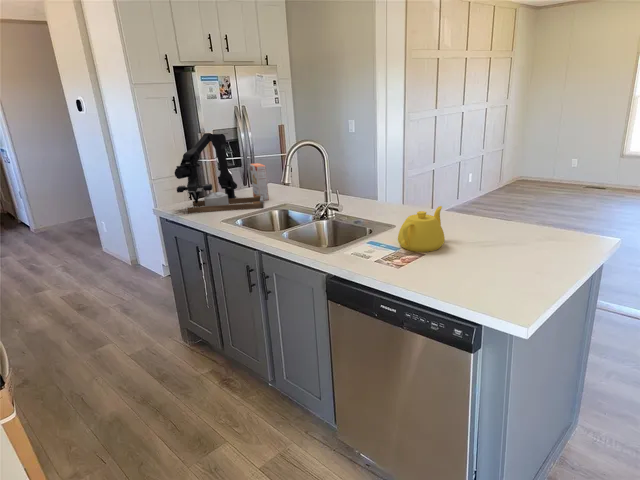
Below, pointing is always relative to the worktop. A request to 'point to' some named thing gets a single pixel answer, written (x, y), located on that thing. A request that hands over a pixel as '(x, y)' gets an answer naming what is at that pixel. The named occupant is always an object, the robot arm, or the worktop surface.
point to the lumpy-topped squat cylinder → (216, 199)
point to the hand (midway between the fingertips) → (196, 203)
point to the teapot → (422, 232)
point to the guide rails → (252, 204)
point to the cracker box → (259, 180)
